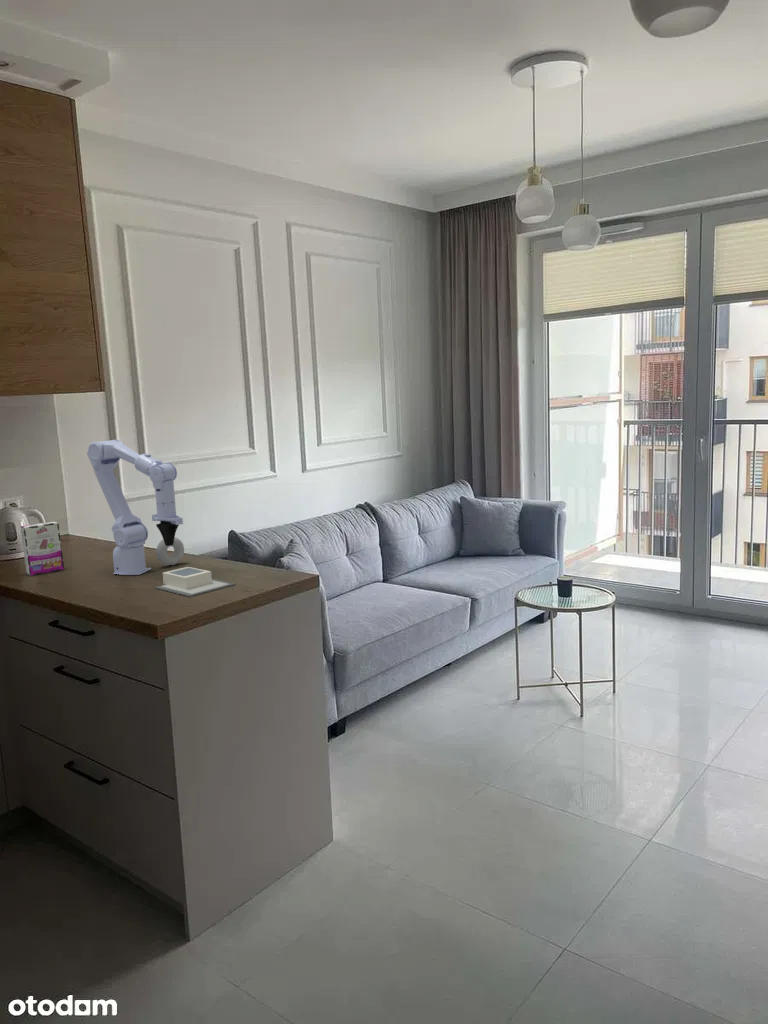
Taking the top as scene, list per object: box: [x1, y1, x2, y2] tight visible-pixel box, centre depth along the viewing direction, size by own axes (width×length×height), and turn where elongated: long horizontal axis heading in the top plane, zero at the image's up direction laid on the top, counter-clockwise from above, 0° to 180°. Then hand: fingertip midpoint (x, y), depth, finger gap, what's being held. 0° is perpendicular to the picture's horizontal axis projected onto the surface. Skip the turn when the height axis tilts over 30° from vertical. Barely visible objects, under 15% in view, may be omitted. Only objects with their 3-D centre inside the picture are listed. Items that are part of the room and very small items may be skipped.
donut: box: [155, 536, 185, 567], centre depth 256 cm, size 10×4×10 cm, turn 136°
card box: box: [162, 566, 213, 590], centre depth 228 cm, size 4×9×12 cm
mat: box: [154, 578, 236, 597], centre depth 226 cm, size 18×16×1 cm
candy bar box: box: [20, 521, 65, 577], centre depth 254 cm, size 11×5×16 cm, turn 130°
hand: (169, 545), depth 239 cm, fingers closed
